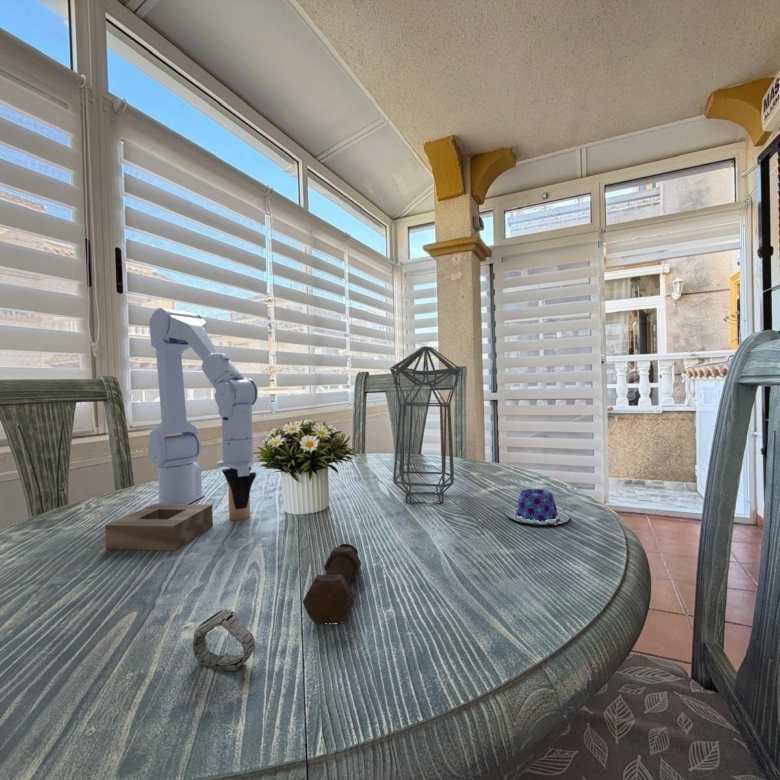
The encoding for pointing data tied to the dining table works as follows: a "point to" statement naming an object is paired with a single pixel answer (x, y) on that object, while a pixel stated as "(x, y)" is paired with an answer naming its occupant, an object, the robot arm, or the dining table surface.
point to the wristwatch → (235, 629)
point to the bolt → (333, 587)
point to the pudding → (536, 505)
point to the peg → (237, 513)
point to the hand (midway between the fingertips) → (239, 505)
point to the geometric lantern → (404, 366)
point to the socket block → (159, 527)
